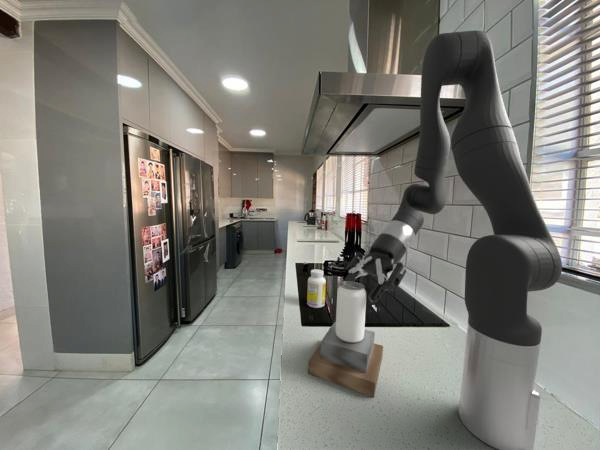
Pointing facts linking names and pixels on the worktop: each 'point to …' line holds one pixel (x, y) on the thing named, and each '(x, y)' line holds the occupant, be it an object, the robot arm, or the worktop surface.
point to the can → (350, 312)
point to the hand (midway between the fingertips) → (356, 293)
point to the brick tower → (348, 362)
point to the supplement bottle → (316, 289)
